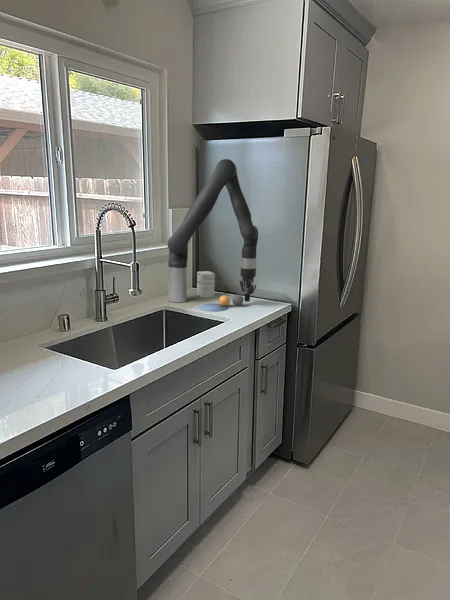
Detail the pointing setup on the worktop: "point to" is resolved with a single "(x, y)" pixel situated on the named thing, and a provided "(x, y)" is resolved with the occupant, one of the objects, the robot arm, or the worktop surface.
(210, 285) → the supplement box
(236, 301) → the gray ball
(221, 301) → the orange ball
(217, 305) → the blue mark
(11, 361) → the worktop surface
